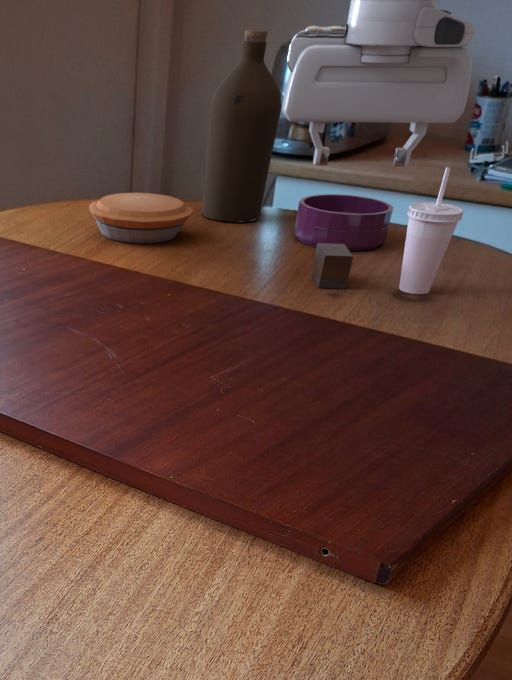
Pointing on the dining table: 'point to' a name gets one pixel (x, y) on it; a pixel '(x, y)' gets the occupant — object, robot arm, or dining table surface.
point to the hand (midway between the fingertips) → (359, 165)
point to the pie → (140, 217)
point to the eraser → (331, 265)
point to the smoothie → (427, 241)
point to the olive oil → (241, 136)
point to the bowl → (343, 221)
